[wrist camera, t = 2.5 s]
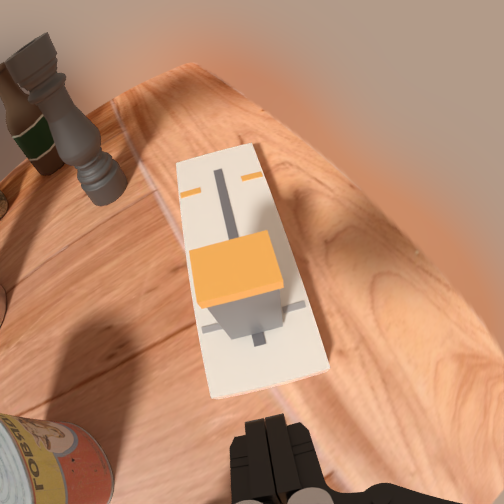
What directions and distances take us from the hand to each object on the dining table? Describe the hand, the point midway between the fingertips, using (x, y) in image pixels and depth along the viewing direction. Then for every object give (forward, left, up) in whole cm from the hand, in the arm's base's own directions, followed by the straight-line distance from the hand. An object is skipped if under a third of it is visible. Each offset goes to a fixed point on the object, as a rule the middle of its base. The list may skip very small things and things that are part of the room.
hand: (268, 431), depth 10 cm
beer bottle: (-55, +12, -15) cm, 58 cm away
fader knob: (-6, +6, -12) cm, 15 cm away
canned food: (-14, -19, -15) cm, 28 cm away
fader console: (-12, +12, -15) cm, 23 cm away
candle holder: (-35, +12, -15) cm, 40 cm away
